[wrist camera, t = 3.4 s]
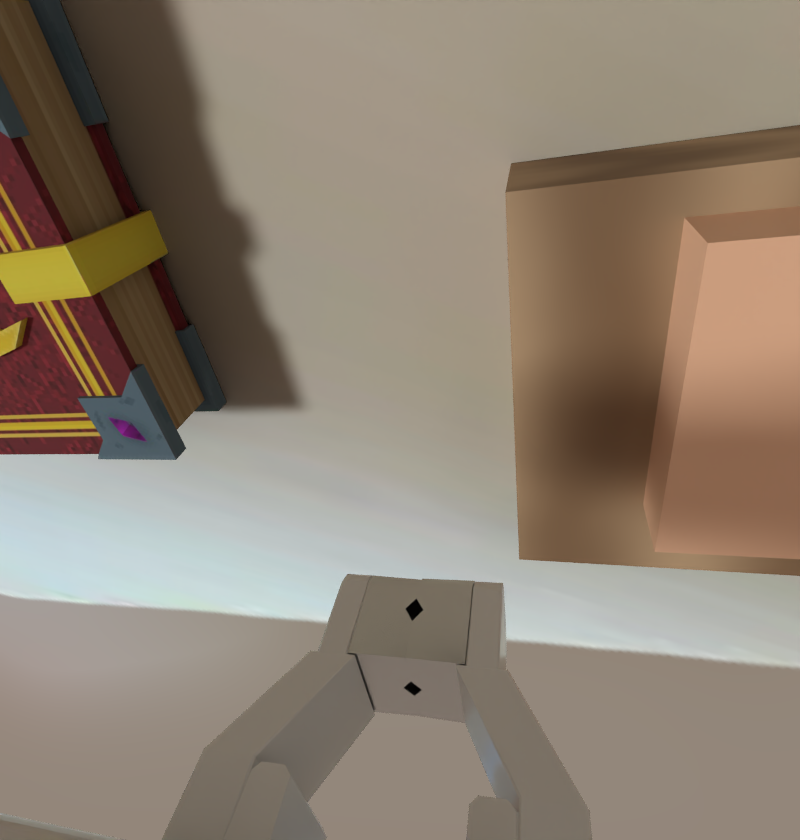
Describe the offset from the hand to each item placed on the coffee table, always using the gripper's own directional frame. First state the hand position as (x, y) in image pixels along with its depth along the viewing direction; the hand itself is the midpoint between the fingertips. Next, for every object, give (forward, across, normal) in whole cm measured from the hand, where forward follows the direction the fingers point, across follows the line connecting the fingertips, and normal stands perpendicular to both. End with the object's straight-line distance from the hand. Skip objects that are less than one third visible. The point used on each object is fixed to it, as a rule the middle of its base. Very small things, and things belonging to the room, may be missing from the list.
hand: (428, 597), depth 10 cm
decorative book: (+12, +17, -6) cm, 22 cm away
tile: (+7, -8, 0) cm, 11 cm away
